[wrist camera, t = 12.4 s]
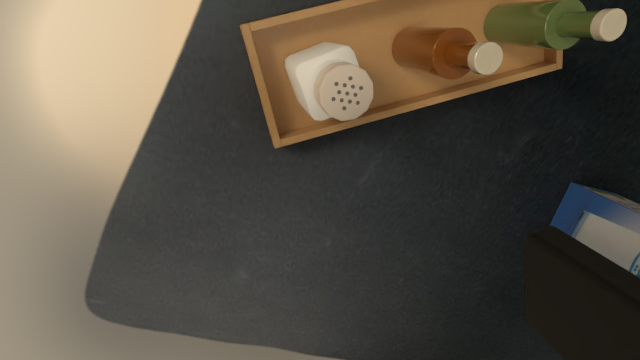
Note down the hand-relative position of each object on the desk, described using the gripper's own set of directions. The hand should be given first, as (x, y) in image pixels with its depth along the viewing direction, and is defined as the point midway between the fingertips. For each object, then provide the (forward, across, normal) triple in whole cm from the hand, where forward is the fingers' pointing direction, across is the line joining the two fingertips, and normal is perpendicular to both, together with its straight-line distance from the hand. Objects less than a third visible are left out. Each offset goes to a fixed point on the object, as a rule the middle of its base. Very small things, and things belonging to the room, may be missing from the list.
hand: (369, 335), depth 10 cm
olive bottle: (+23, -21, -3) cm, 31 cm away
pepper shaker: (+24, -5, -3) cm, 24 cm away
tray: (+24, -13, -3) cm, 27 cm away
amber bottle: (+24, -13, -3) cm, 27 cm away
